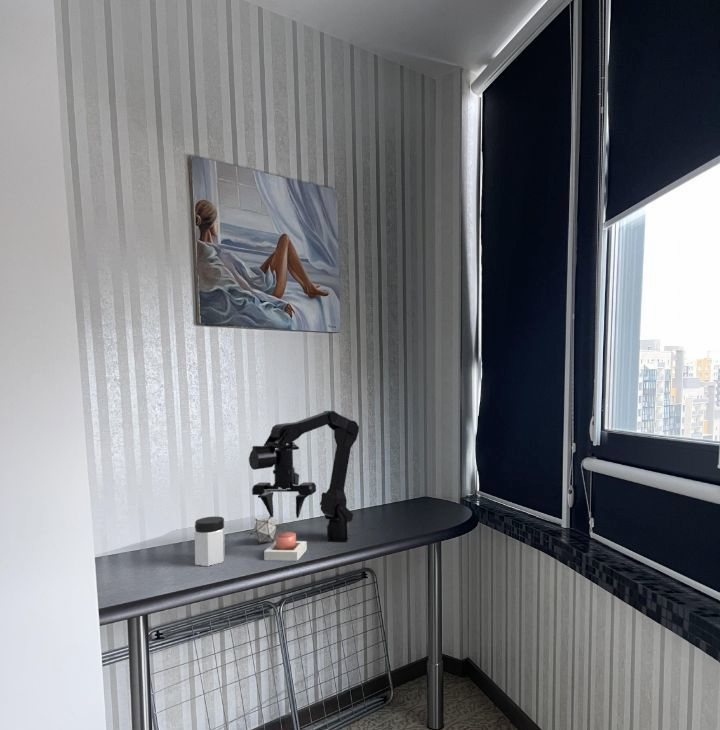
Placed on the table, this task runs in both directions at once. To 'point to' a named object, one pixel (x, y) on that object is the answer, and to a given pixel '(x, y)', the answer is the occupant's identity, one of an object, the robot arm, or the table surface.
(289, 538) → the popper button
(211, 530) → the jar
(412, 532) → the table surface
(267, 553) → the base
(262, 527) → the grey icosahedron ornament
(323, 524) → the table surface
